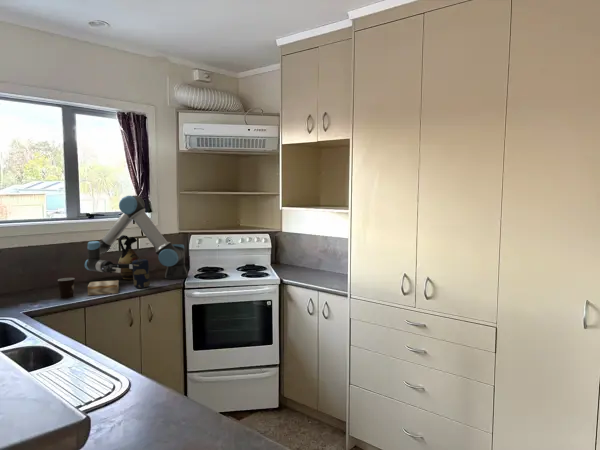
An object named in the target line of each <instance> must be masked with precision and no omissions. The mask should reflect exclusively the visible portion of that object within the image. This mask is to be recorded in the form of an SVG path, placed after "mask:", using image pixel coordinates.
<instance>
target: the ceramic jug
mask: <svg viewBox="0 0 600 450" xmlns="http://www.w3.org/2000/svg"><path fill="white" fill-rule="evenodd" d="M123 239H125V241H124V242H122V241H123ZM137 242H138V240H137V238H135V236H134V237H133V236H132V237H129V236H128V235H125V234H122V235H120V236H119V237H118V244H119V246H120V249H121V255H120V257H119V260H118V263H119V264H130V263H131V264H132V262H133V261H134V260H138V259H140V258H139V257H140V256H138V253H136V252H135V250H134V249H133V248H132V245H133V244H135V243H137ZM124 246H125V247H124ZM118 263H117V264H118ZM118 274H120V276H121V277H122V279H123V280H133V269H129V268H121V273H118Z"/></svg>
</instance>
